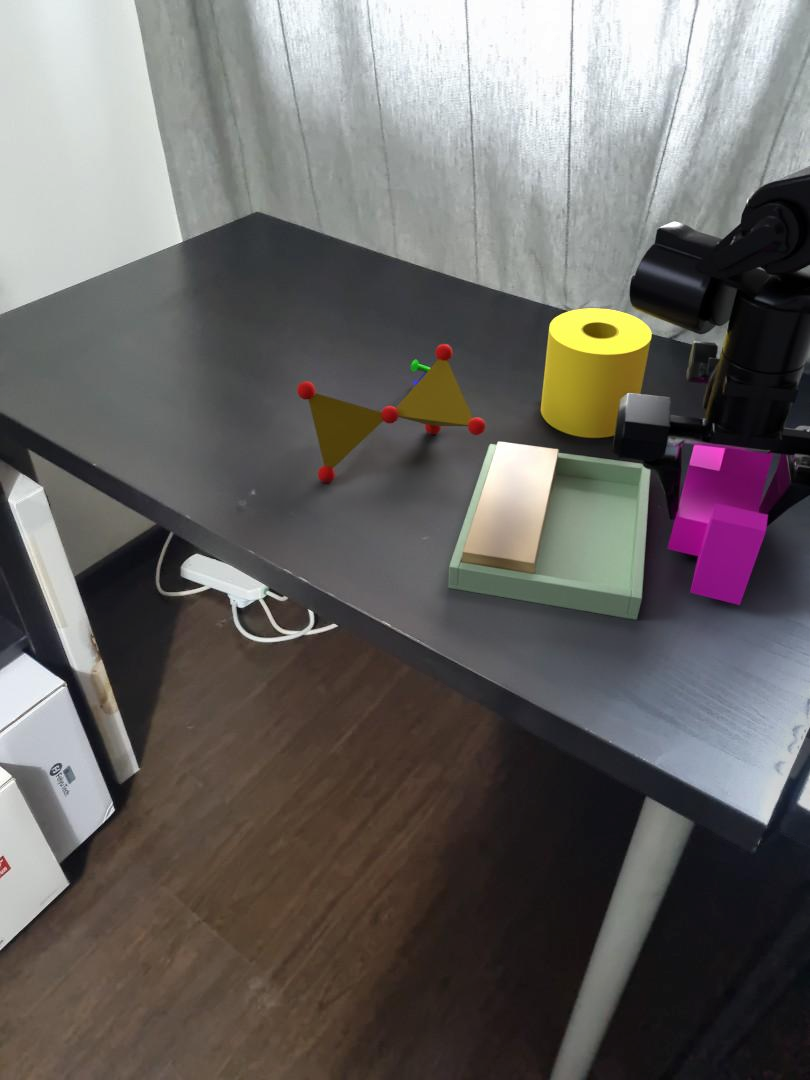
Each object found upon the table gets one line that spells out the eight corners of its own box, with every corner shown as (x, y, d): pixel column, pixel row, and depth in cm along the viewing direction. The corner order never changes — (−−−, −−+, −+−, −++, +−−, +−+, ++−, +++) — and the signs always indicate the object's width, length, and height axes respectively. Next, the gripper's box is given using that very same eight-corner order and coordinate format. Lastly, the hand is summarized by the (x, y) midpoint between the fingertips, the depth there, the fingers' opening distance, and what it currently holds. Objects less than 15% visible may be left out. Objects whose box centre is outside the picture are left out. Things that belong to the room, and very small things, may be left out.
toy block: (685, 480, 77) (703, 411, 72) (755, 495, 75) (779, 425, 70) (658, 584, 66) (677, 511, 61) (739, 604, 64) (765, 531, 59)
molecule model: (273, 402, 89) (273, 312, 79) (430, 381, 94) (447, 294, 84) (311, 519, 80) (317, 433, 70) (481, 488, 85) (508, 405, 76)
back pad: (555, 475, 79) (559, 449, 77) (531, 590, 67) (534, 563, 65) (496, 466, 80) (497, 441, 78) (461, 579, 68) (462, 551, 66)
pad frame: (646, 485, 78) (650, 464, 77) (636, 620, 65) (642, 598, 63) (488, 463, 81) (489, 443, 80) (448, 588, 68) (448, 566, 67)
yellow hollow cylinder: (650, 432, 85) (667, 349, 79) (556, 442, 84) (566, 358, 78) (616, 384, 93) (630, 304, 87) (529, 392, 92) (537, 312, 85)
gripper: (885, 318, 63) (822, 482, 73) (636, 296, 67) (609, 455, 77) (913, 390, 55) (838, 564, 65) (628, 360, 59) (598, 529, 69)
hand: (714, 522), depth 69 cm, fingers closed on toy block, 6 cm apart
